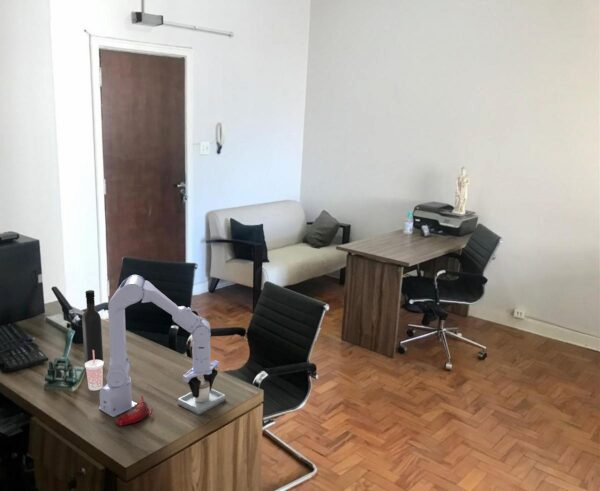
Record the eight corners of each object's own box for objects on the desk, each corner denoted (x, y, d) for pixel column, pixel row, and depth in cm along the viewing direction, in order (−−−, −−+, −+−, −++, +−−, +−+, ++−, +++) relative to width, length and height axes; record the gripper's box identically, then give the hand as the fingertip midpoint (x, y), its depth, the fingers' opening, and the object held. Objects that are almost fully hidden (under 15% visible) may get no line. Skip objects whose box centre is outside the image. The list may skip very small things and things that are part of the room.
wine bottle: (84, 366, 204) (79, 290, 196) (99, 362, 207) (95, 287, 200) (88, 372, 199) (83, 294, 192) (104, 368, 203) (100, 292, 195)
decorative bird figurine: (147, 428, 166) (114, 429, 166) (160, 398, 183) (130, 399, 183) (146, 420, 165) (113, 421, 165) (160, 391, 182) (130, 392, 182)
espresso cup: (201, 403, 179) (201, 388, 177) (191, 398, 182) (190, 383, 180) (212, 397, 183) (213, 382, 181) (202, 392, 186) (202, 377, 184)
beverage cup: (98, 392, 186) (96, 355, 182) (82, 390, 187) (80, 352, 184) (108, 384, 192) (106, 347, 188) (92, 381, 193) (90, 345, 189)
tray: (198, 414, 175) (198, 409, 174) (177, 404, 181) (177, 398, 180) (225, 400, 184) (225, 394, 184) (204, 390, 190) (204, 385, 190)
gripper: (193, 367, 170) (193, 406, 174) (226, 352, 182) (225, 389, 185) (178, 360, 174) (178, 398, 178) (211, 346, 186) (211, 382, 189)
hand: (201, 393), depth 182 cm, fingers closed on espresso cup, 5 cm apart
